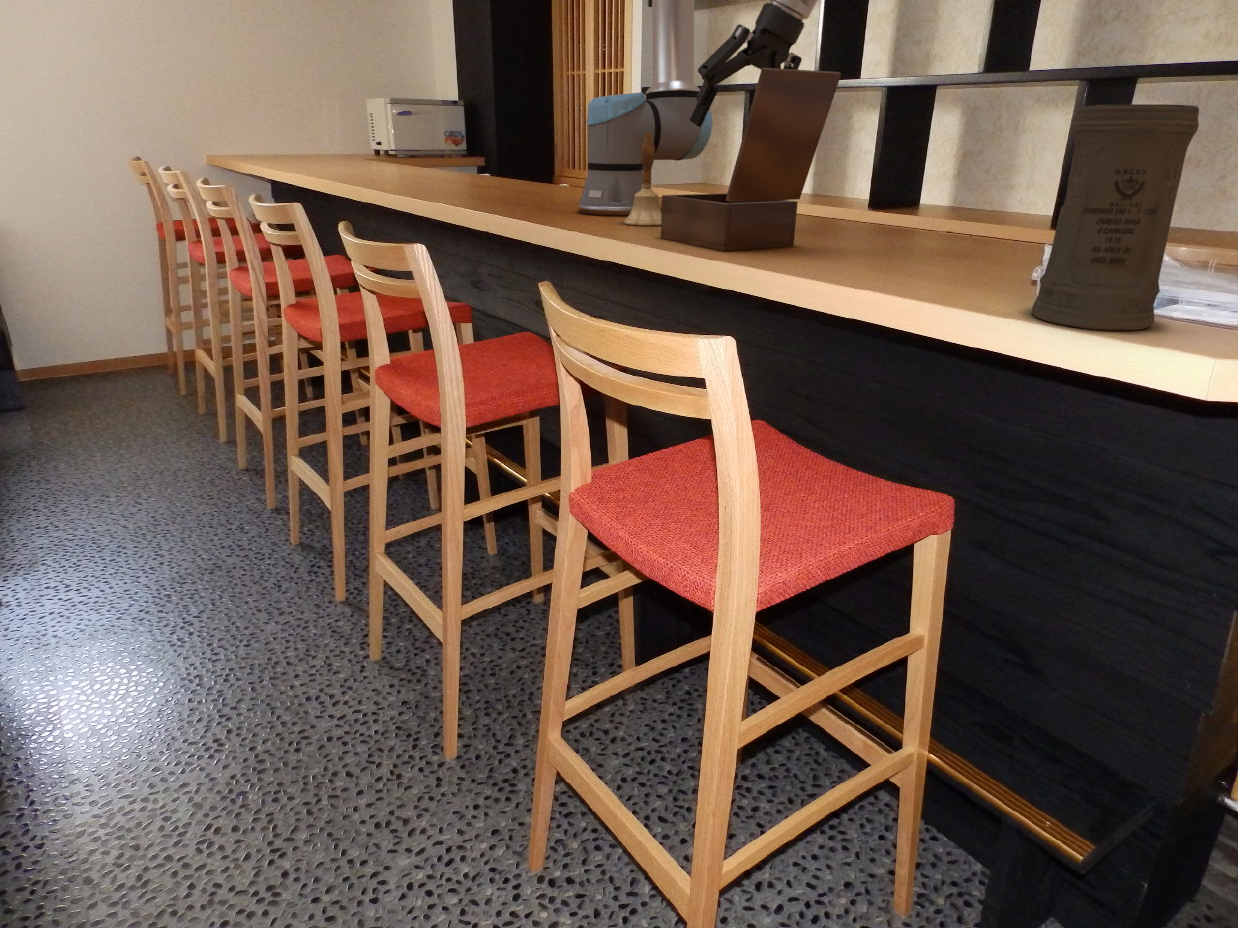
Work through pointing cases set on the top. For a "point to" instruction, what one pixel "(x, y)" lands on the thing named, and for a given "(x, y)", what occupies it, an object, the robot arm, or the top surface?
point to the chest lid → (782, 134)
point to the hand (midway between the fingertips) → (723, 136)
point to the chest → (728, 222)
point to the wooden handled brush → (646, 191)
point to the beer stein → (1116, 216)
